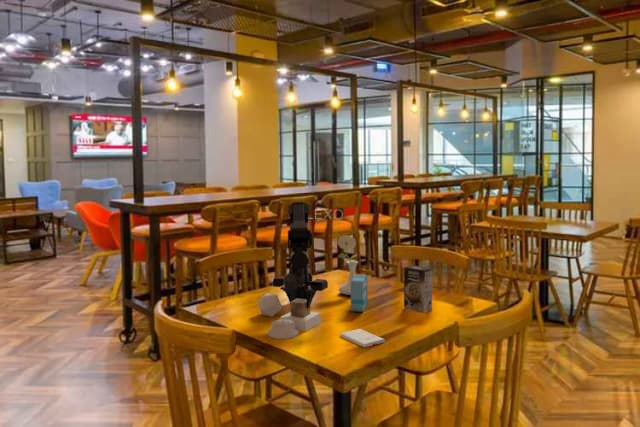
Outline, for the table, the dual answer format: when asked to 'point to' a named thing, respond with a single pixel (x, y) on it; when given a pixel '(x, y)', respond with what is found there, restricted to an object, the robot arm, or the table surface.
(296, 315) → the grey cube
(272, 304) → the die
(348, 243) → the flower in vase
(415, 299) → the coffee box
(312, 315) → the grey block
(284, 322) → the mechanical component
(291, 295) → the robot arm
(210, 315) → the table surface
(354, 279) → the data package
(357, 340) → the external hard drive
